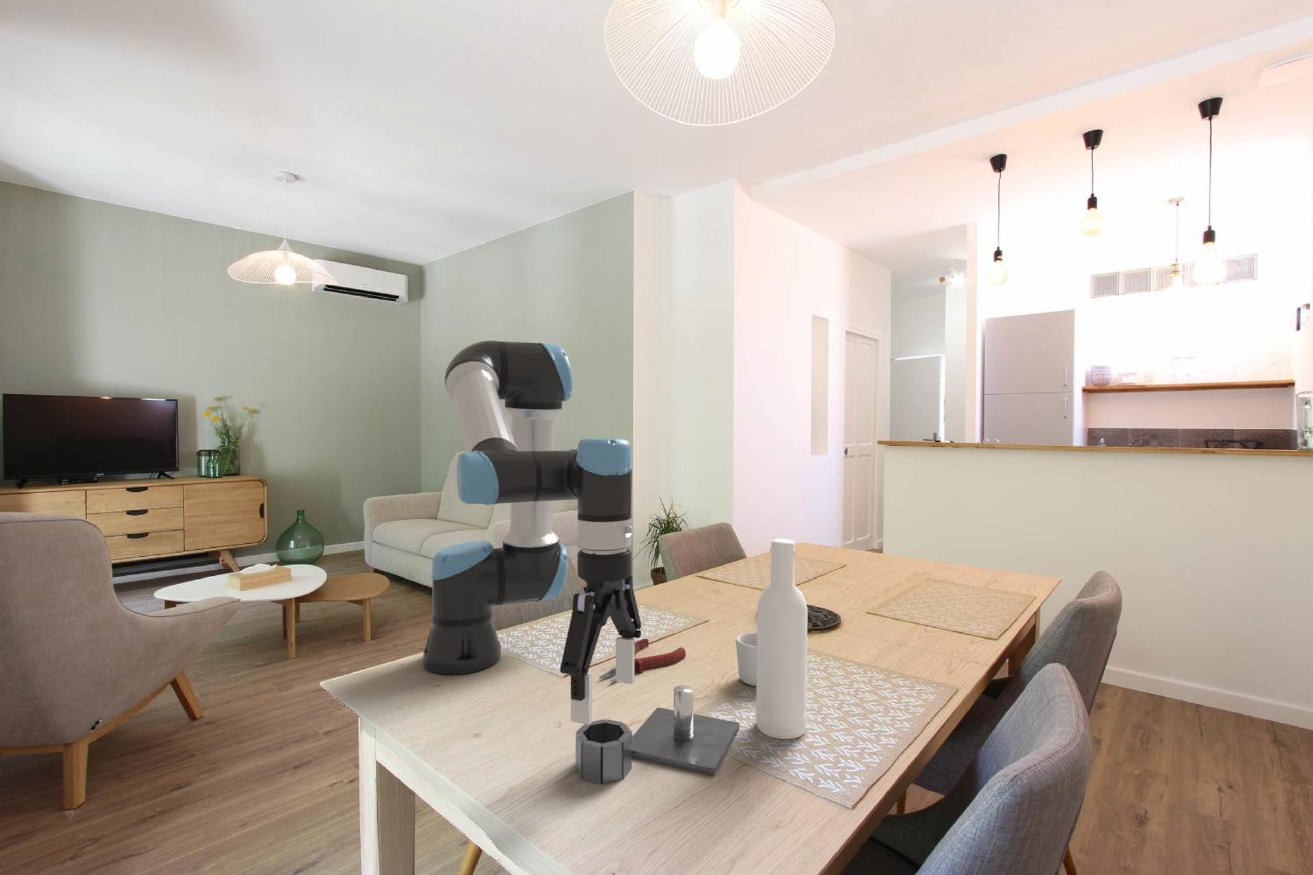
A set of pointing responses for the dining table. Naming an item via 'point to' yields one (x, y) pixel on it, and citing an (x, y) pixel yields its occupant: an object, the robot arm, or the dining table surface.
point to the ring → (603, 751)
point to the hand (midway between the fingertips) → (604, 700)
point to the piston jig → (684, 736)
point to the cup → (747, 657)
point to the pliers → (649, 659)
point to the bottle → (781, 649)
